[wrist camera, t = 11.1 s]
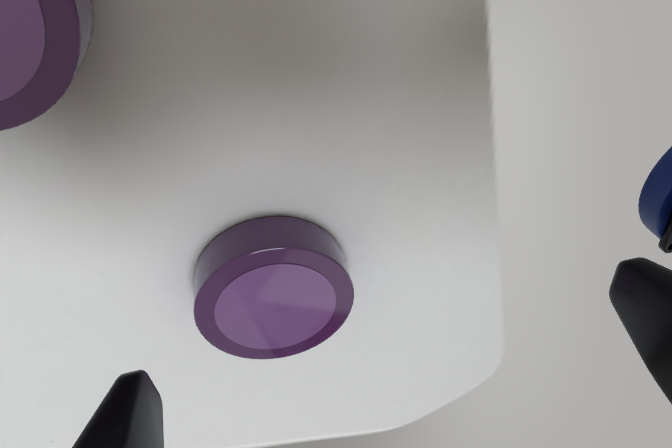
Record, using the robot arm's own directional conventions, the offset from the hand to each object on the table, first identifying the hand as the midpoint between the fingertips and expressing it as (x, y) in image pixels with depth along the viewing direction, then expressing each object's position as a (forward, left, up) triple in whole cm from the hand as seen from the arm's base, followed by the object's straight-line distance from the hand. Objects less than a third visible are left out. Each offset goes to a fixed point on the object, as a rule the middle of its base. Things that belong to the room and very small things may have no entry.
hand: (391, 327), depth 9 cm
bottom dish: (+3, +8, -11) cm, 13 cm away
